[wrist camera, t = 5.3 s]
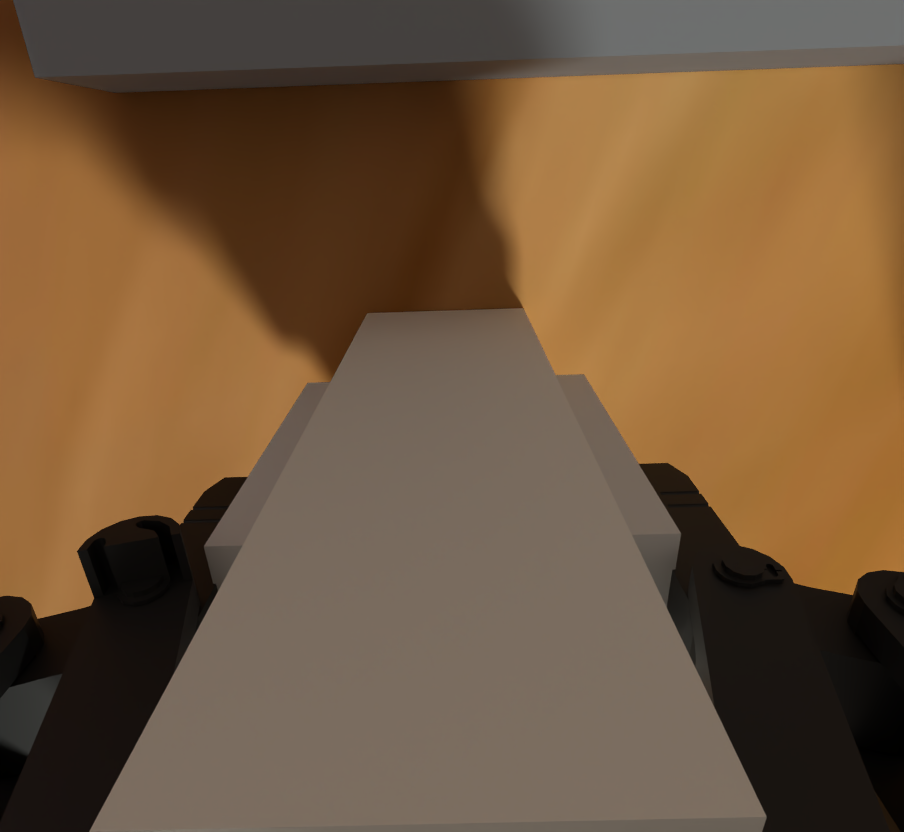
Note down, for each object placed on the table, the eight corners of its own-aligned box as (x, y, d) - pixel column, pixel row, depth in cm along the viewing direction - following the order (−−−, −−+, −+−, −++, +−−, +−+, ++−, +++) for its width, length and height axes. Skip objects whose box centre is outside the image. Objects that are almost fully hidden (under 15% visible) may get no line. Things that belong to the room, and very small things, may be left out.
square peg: (379, 451, 18) (221, 1111, 6) (367, 313, 17) (89, 832, 4) (520, 447, 18) (678, 1104, 6) (523, 308, 17) (767, 816, 4)
